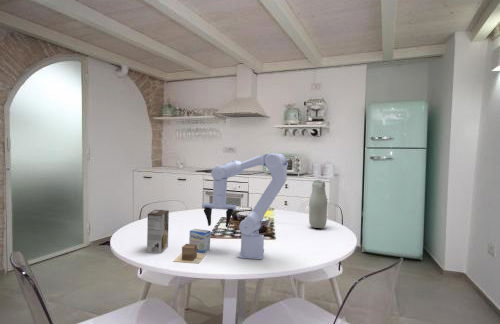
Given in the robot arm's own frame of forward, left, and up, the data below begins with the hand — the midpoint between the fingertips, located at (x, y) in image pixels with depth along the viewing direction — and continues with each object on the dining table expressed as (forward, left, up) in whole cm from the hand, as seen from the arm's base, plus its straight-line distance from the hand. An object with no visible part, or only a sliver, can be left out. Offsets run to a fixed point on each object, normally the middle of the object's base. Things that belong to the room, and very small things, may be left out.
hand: (218, 225), depth 130 cm
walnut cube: (+8, +13, -10) cm, 19 cm away
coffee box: (+25, +5, -11) cm, 27 cm away
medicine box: (+7, +2, -11) cm, 13 cm away
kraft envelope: (+8, +12, -10) cm, 18 cm away
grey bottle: (-47, -51, -11) cm, 70 cm away
